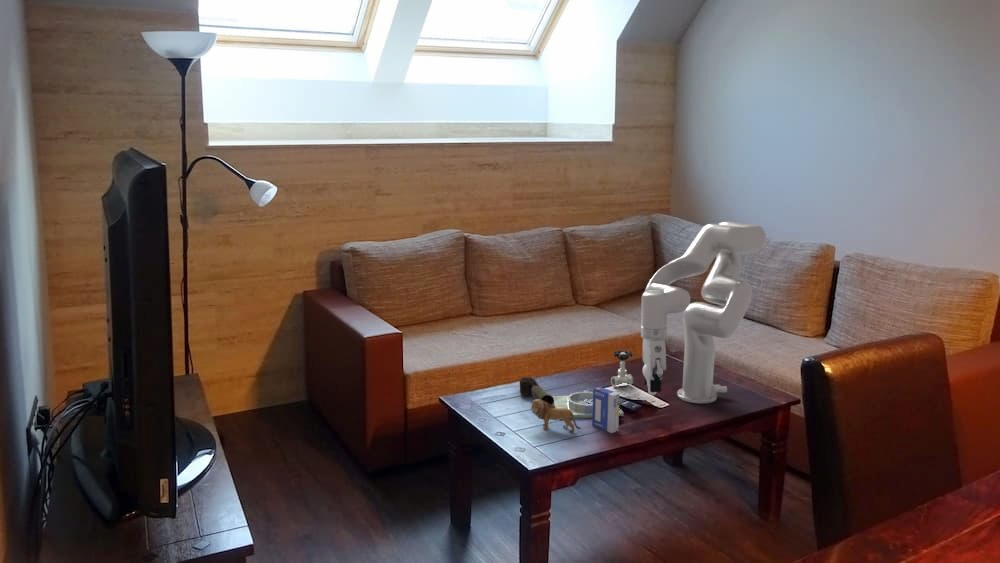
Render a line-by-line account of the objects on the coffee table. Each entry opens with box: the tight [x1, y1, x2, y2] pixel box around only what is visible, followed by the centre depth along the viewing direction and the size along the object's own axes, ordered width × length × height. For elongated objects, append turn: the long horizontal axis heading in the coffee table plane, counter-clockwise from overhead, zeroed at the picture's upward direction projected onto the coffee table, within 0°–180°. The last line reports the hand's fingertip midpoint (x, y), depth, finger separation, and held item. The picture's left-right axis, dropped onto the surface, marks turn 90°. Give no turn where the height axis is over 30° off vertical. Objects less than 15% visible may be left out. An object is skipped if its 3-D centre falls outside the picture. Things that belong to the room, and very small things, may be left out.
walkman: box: [591, 386, 620, 434], centre depth 236 cm, size 8×3×12 cm, turn 42°
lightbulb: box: [642, 363, 664, 396], centre depth 244 cm, size 6×6×11 cm
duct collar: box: [551, 391, 625, 420], centre depth 252 cm, size 20×16×3 cm
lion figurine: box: [530, 398, 581, 434], centre depth 235 cm, size 15×5×9 cm, turn 83°
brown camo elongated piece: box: [518, 376, 554, 407], centre depth 260 cm, size 18×7×6 cm, turn 21°
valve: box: [610, 349, 634, 387], centre depth 270 cm, size 7×7×12 cm
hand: (652, 387), depth 245 cm, fingers closed on lightbulb, 5 cm apart
